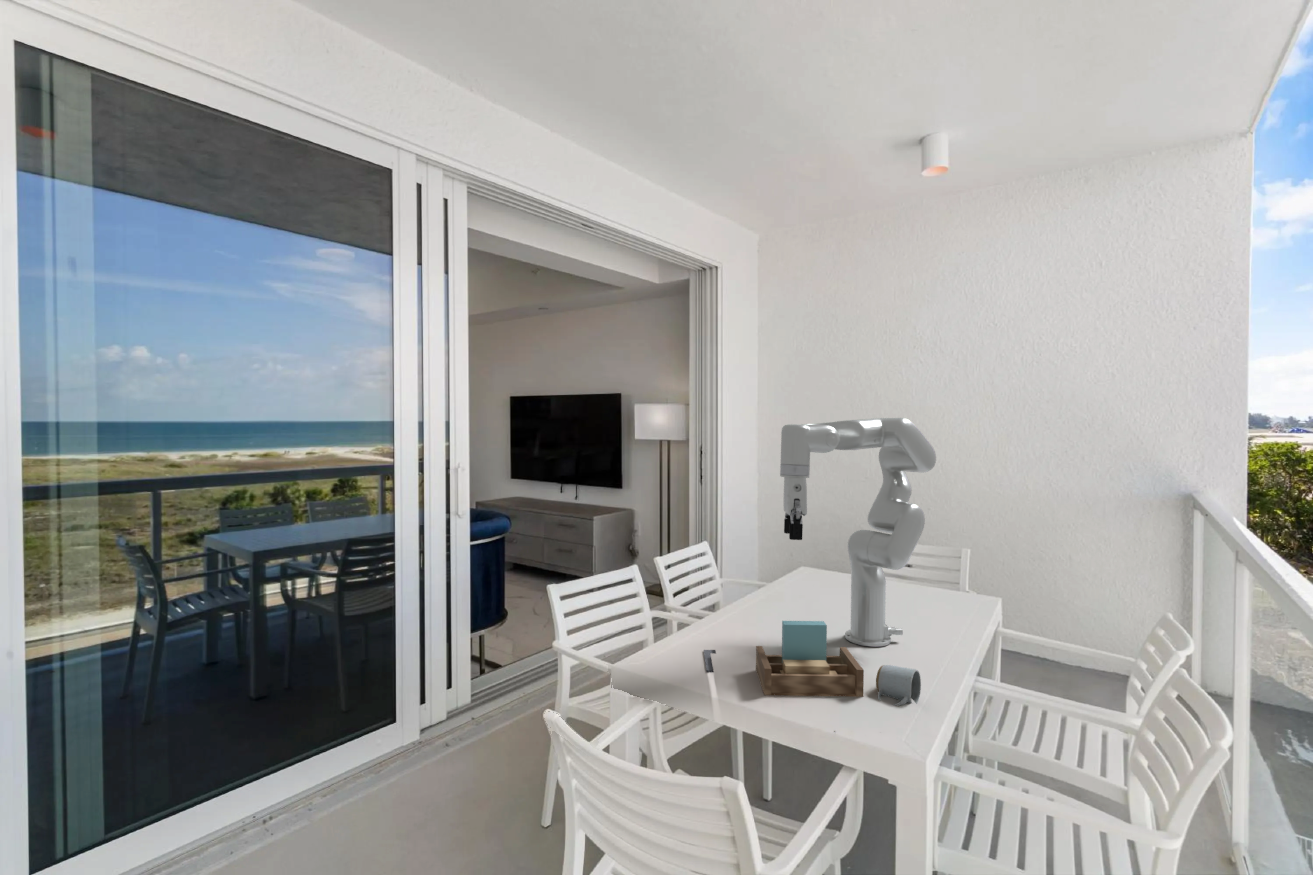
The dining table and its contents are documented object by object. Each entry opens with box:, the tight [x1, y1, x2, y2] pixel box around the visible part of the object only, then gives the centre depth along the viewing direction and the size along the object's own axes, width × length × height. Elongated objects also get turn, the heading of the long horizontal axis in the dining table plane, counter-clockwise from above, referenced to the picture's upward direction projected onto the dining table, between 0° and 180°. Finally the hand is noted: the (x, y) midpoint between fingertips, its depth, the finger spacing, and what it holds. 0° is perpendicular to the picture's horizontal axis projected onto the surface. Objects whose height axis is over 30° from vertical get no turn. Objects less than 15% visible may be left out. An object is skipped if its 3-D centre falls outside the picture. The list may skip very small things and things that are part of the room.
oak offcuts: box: [779, 660, 837, 674], centre depth 142 cm, size 13×4×6 cm, turn 89°
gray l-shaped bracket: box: [703, 649, 717, 673], centre depth 161 cm, size 16×14×1 cm
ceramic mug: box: [875, 664, 922, 706], centre depth 138 cm, size 11×8×8 cm
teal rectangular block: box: [781, 620, 828, 663], centre depth 148 cm, size 10×3×13 cm, turn 89°
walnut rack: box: [755, 645, 865, 698], centre depth 145 cm, size 22×14×8 cm, turn 89°
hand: (792, 536), depth 162 cm, fingers open, 9 cm apart
